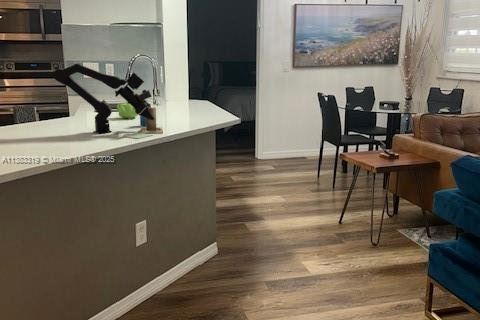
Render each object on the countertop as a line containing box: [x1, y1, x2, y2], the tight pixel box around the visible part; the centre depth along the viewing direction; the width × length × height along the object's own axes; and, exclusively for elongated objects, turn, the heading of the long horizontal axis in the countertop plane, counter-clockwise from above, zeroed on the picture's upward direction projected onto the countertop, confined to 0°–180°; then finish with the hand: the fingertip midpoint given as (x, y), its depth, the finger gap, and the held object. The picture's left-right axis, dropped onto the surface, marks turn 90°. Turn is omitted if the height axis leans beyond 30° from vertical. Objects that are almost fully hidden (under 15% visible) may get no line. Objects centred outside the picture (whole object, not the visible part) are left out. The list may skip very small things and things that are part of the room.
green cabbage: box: [116, 101, 139, 120], centre depth 273 cm, size 12×12×10 cm
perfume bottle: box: [139, 102, 152, 128], centre depth 248 cm, size 6×6×12 cm
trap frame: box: [139, 126, 164, 135], centre depth 231 cm, size 11×11×1 cm
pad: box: [122, 132, 153, 140], centre depth 219 cm, size 10×10×1 cm
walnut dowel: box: [145, 107, 157, 131], centre depth 230 cm, size 5×5×12 cm
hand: (153, 118), depth 230 cm, fingers open, 9 cm apart
